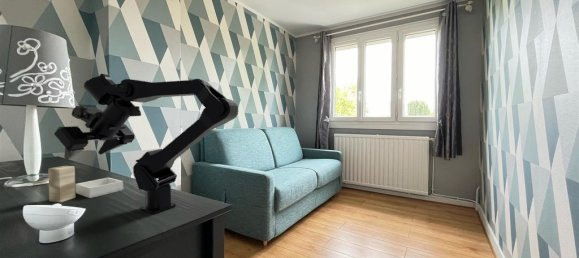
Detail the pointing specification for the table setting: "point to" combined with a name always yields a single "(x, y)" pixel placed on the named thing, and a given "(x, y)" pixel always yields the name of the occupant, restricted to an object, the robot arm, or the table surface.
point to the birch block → (61, 183)
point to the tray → (99, 187)
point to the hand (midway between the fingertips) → (84, 155)
